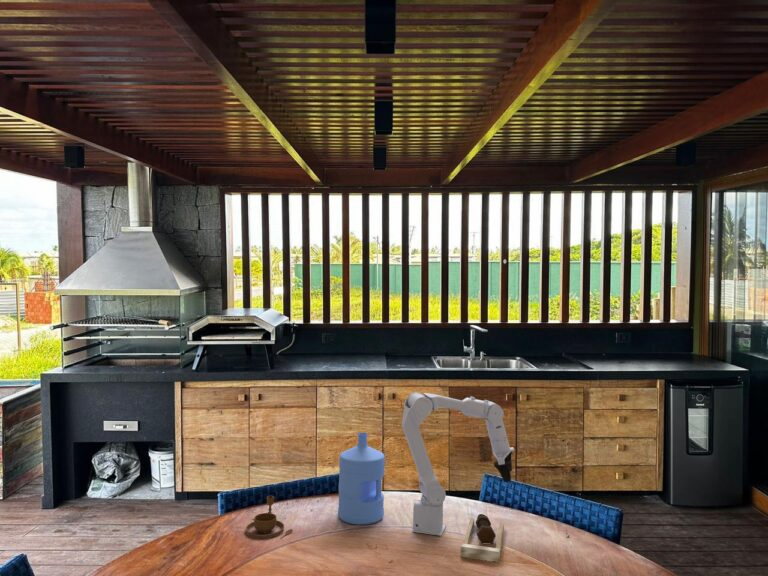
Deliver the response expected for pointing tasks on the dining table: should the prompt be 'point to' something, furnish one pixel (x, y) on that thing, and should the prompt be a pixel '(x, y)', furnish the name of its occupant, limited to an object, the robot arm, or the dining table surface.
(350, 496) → the water jug
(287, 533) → the place setting
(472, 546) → the guide channel
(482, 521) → the bolt
